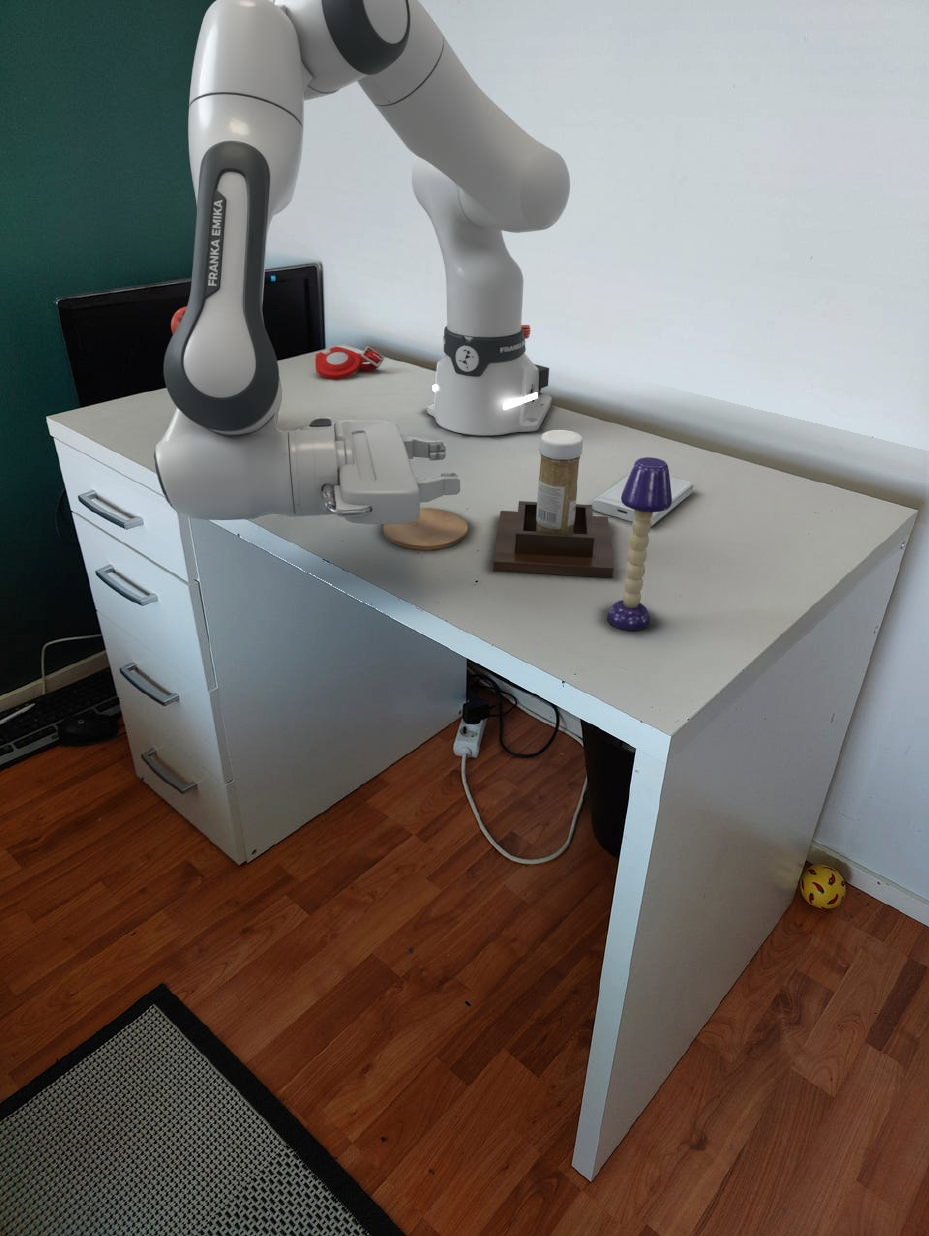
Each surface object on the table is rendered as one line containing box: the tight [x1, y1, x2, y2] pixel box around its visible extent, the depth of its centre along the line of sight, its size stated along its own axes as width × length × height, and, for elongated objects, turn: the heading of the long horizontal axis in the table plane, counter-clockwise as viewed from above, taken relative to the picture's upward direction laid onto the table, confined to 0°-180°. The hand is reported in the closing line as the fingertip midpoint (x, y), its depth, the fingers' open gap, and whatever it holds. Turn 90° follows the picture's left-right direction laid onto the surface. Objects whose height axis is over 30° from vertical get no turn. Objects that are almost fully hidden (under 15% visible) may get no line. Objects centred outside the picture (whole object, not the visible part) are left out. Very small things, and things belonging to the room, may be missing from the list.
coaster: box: [383, 507, 469, 551], centre depth 102 cm, size 10×10×1 cm
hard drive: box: [592, 475, 694, 527], centre depth 110 cm, size 2×8×12 cm
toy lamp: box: [606, 456, 672, 631], centre depth 82 cm, size 5×5×17 cm
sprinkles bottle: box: [536, 429, 584, 534], centre depth 96 cm, size 5×5×13 cm
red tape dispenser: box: [314, 345, 385, 380], centre depth 156 cm, size 12×4×10 cm
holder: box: [492, 500, 614, 578], centre depth 99 cm, size 13×13×4 cm
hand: (451, 465), depth 92 cm, fingers open, 8 cm apart
